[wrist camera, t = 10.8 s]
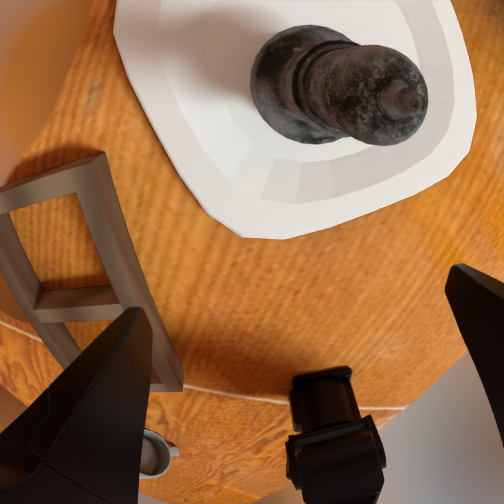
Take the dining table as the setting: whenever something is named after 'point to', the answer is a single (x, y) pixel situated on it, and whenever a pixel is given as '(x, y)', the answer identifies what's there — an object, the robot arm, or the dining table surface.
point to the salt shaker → (336, 88)
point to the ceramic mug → (155, 455)
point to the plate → (262, 135)
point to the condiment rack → (111, 254)
